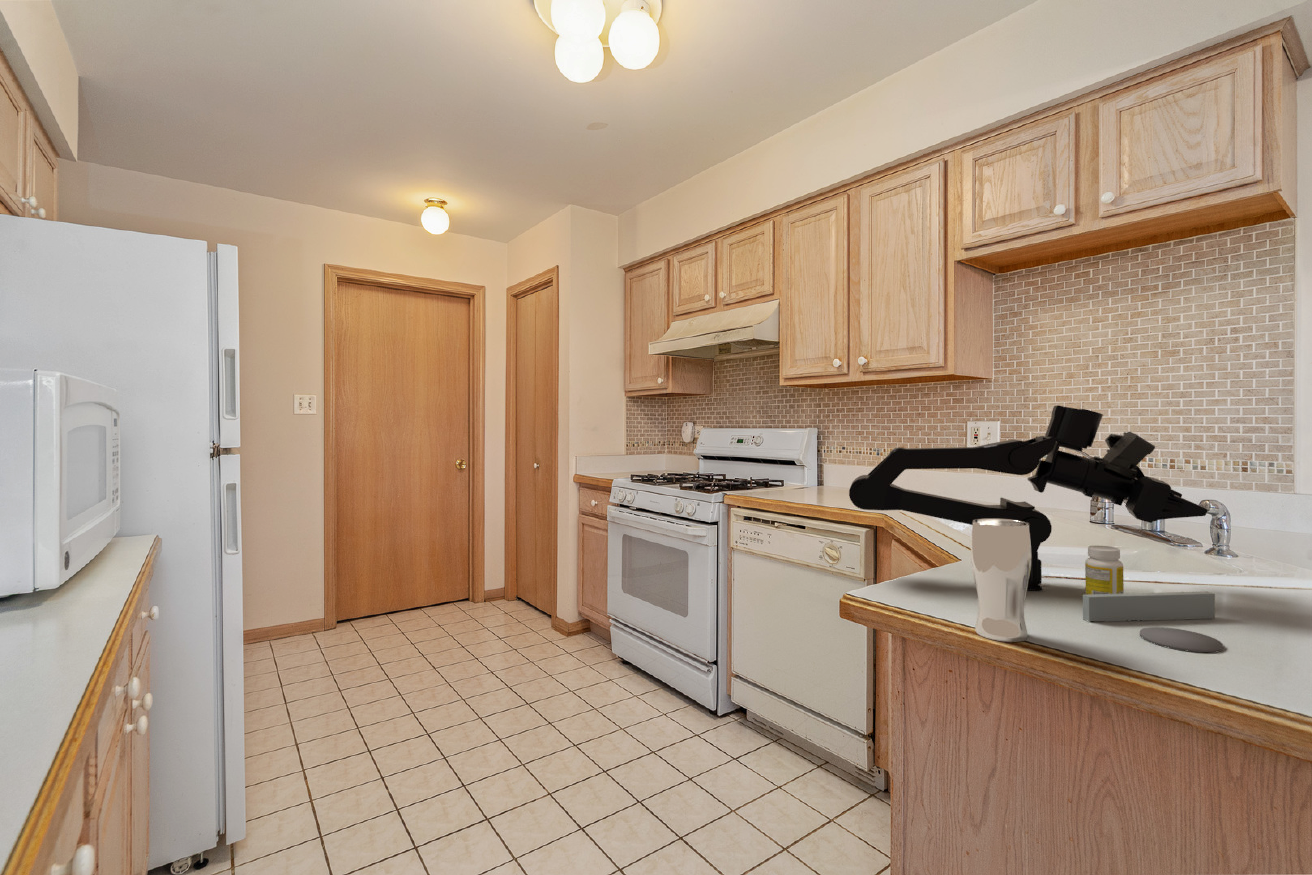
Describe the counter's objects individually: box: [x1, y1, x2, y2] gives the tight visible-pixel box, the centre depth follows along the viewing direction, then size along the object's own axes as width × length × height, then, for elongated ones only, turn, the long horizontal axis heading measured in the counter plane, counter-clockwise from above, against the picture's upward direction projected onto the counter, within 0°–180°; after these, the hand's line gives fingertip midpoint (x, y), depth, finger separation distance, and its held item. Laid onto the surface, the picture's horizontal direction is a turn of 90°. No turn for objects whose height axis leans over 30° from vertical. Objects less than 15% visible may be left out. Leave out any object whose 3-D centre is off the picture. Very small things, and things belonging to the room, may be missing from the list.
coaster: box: [1139, 626, 1224, 653], centre depth 78 cm, size 8×8×1 cm
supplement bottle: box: [1084, 545, 1125, 595], centre depth 94 cm, size 5×5×8 cm
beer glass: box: [970, 518, 1031, 643], centre depth 81 cm, size 7×7×15 cm
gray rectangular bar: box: [1082, 591, 1216, 622], centre depth 86 cm, size 18×1×4 cm, turn 91°
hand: (1193, 504), depth 96 cm, fingers open, 9 cm apart
